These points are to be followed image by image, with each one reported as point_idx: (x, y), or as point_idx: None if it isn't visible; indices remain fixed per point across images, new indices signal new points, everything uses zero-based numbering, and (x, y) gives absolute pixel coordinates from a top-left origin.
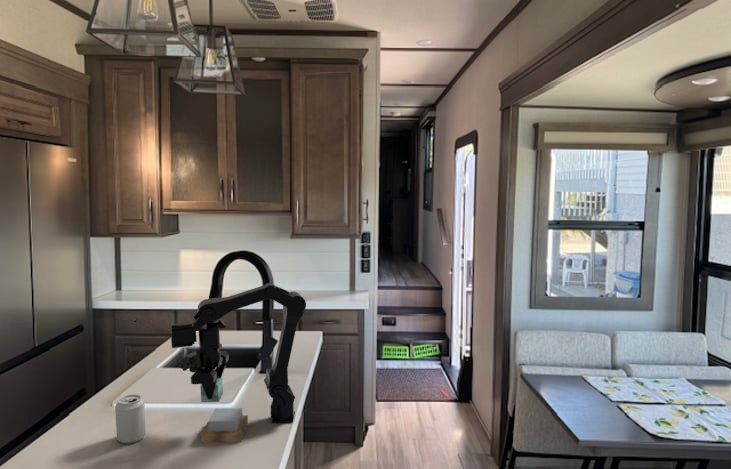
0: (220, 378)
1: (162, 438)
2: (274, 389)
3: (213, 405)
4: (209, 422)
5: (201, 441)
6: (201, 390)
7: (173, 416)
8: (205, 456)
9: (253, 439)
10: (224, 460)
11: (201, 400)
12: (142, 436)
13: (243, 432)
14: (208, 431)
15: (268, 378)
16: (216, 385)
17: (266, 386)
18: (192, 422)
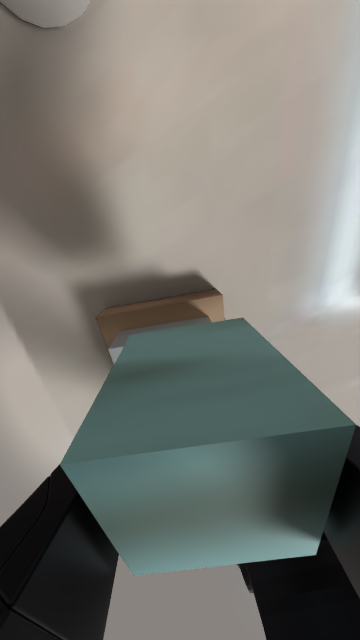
0: (313, 546)
1: (91, 151)
2: (241, 568)
3: (349, 239)
4: (111, 350)
5: (104, 310)
6: (96, 407)
7: (275, 89)
8: (50, 346)
9: None
10: (54, 388)
11: (127, 342)
12: (36, 20)
13: None
14: (119, 331)
15: (294, 619)
16: (128, 567)
17: (261, 561)
18: (221, 218)
